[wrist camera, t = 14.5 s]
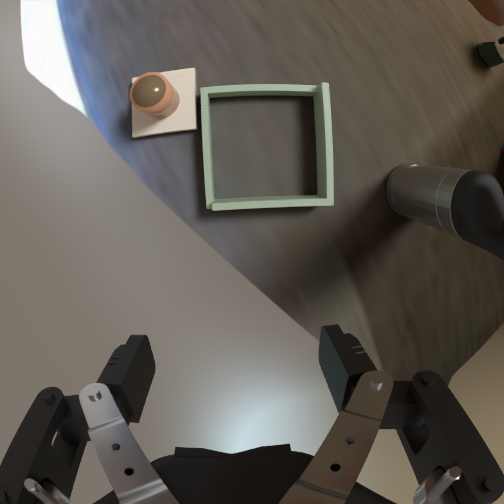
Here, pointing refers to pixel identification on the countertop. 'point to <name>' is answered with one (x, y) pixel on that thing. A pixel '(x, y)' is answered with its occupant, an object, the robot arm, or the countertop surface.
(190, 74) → the cream tile
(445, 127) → the countertop surface
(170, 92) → the terracotta pot
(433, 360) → the countertop surface
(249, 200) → the frame
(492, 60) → the character mug
